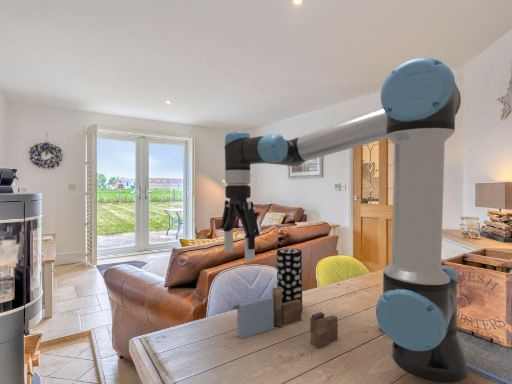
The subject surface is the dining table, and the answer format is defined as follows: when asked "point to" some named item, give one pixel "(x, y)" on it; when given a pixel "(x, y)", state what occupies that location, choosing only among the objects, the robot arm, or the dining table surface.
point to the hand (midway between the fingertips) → (238, 255)
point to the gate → (255, 316)
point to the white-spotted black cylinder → (289, 274)
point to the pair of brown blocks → (291, 312)
